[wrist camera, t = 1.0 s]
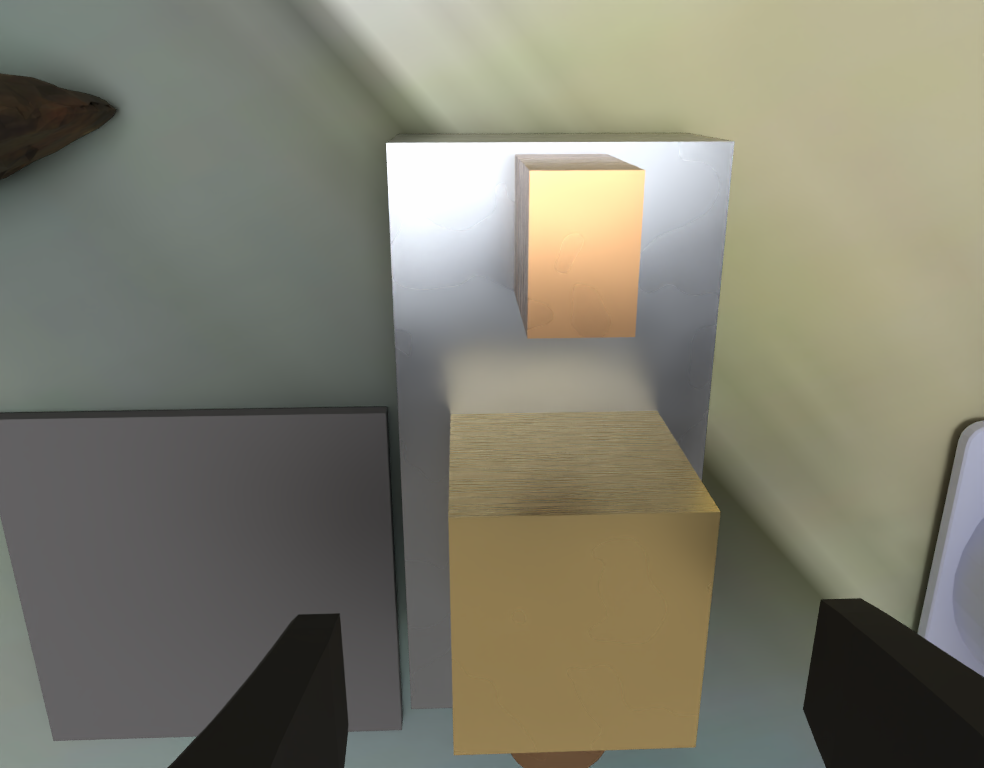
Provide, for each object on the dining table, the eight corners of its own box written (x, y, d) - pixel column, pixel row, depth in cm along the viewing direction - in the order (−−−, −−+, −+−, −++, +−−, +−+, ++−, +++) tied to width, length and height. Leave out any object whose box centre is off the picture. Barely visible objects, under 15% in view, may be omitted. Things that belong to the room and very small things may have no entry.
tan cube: (657, 410, 16) (720, 511, 12) (643, 603, 17) (695, 747, 13) (450, 414, 16) (447, 517, 12) (454, 608, 17) (453, 754, 13)
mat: (387, 406, 19) (386, 413, 18) (402, 718, 22) (401, 729, 21) (-13, 413, 18) (-23, 420, 18) (60, 729, 21) (53, 740, 21)
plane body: (687, 133, 17) (805, 153, 11) (650, 618, 21) (721, 813, 15) (398, 134, 17) (367, 156, 11) (417, 624, 21) (402, 824, 15)
